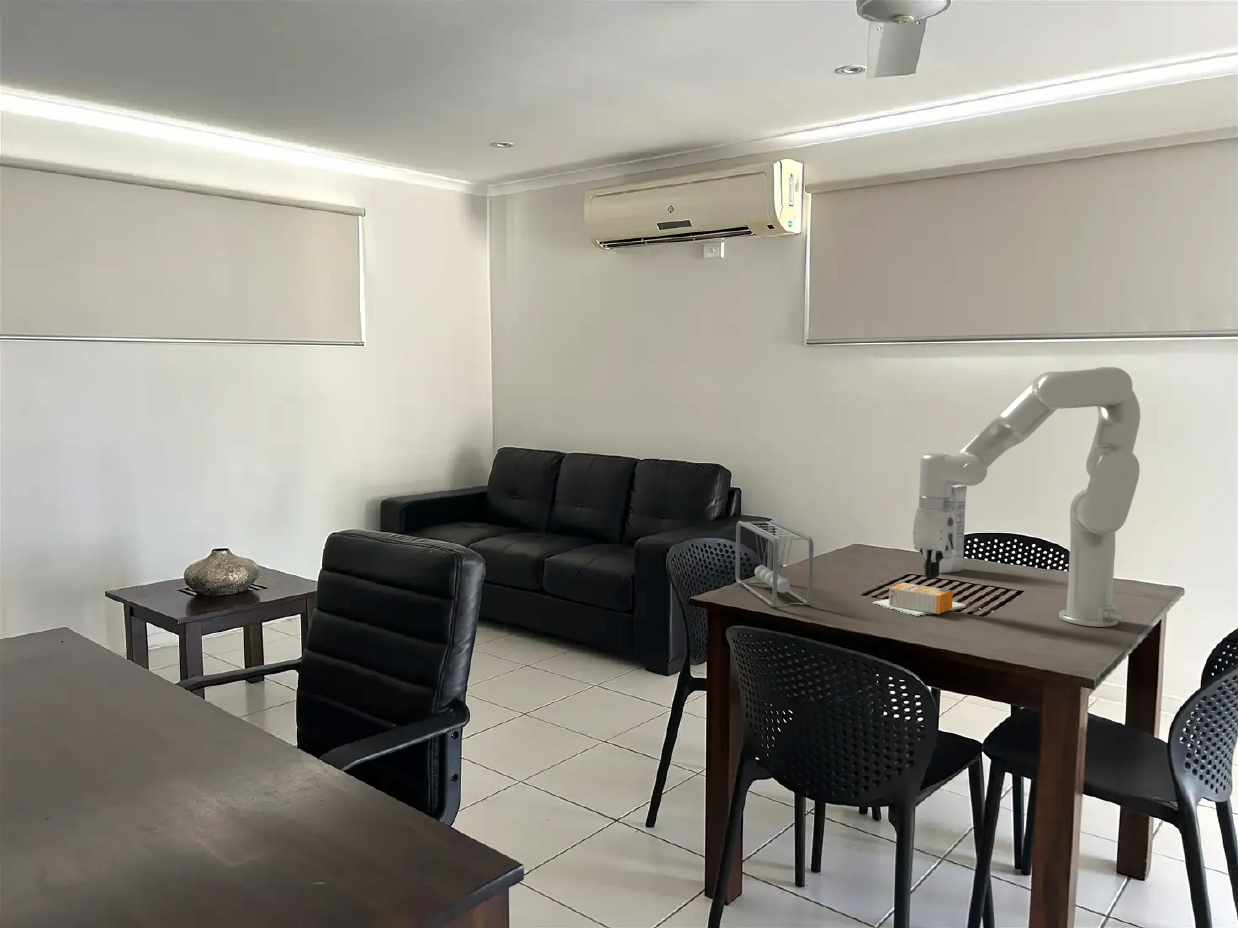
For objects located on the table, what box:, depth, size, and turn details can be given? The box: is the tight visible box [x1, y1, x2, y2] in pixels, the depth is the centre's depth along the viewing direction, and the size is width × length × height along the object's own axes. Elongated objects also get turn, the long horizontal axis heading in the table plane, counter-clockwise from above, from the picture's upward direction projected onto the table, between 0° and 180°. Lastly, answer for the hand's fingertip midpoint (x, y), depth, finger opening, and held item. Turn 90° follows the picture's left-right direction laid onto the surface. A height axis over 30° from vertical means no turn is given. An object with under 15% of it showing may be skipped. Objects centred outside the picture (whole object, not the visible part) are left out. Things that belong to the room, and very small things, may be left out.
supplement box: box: [888, 582, 954, 615], centre depth 229 cm, size 8×5×13 cm
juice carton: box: [922, 483, 968, 574], centre depth 274 cm, size 9×10×27 cm
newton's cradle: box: [735, 519, 814, 607], centre depth 244 cm, size 30×10×18 cm, turn 11°
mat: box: [872, 598, 967, 617], centre depth 234 cm, size 14×18×1 cm
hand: (931, 576), depth 230 cm, fingers closed
